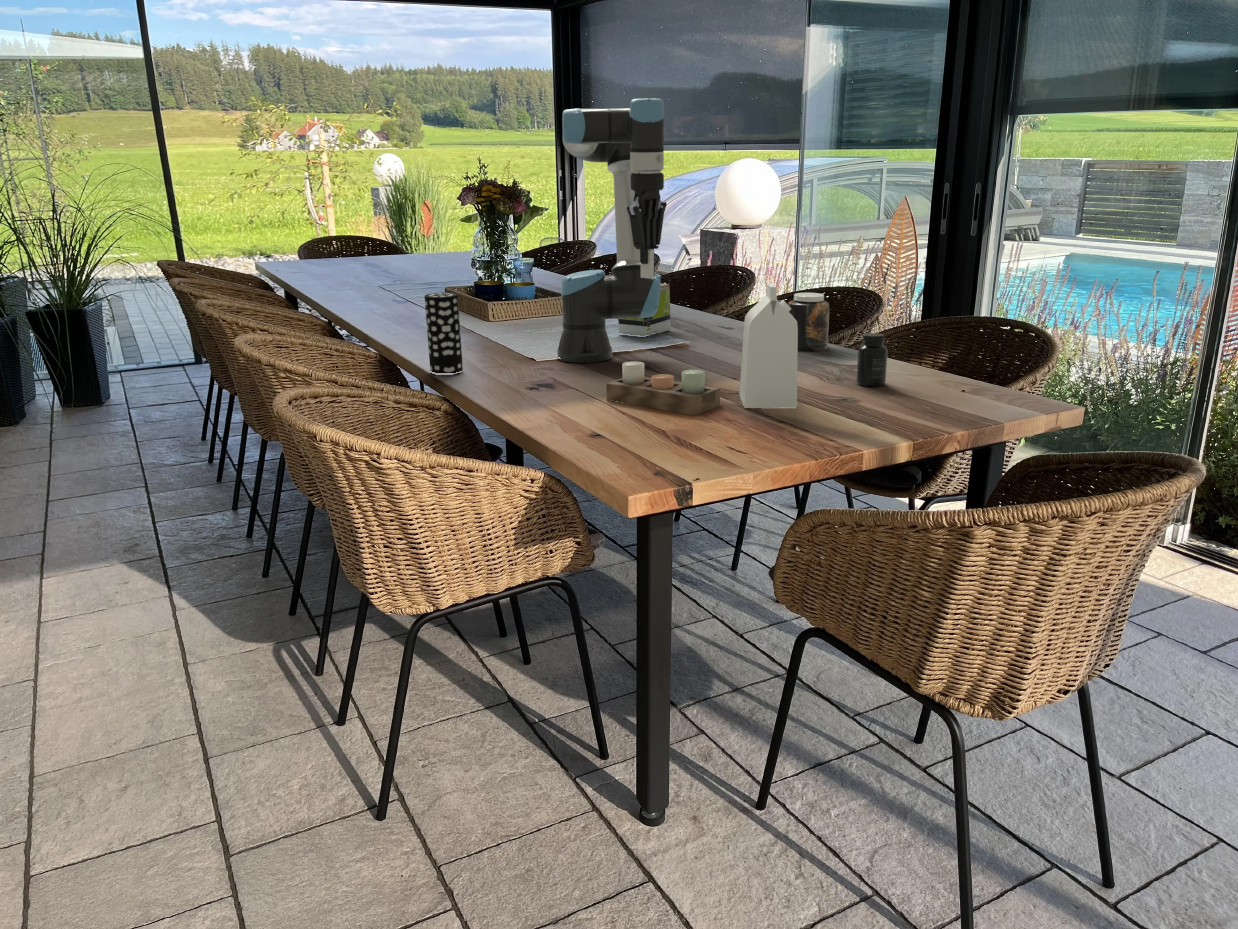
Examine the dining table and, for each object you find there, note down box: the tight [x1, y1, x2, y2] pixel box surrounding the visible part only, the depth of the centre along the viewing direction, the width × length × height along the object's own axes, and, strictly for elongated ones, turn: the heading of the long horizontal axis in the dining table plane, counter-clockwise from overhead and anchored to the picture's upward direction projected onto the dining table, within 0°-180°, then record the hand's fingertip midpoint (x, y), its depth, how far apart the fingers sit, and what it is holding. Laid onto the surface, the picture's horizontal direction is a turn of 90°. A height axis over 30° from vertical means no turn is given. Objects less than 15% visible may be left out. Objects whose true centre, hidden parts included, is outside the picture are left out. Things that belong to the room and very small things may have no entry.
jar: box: [787, 292, 830, 352], centre depth 267 cm, size 12×12×15 cm
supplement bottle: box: [856, 332, 888, 387], centre depth 225 cm, size 7×7×12 cm
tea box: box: [617, 283, 671, 336], centre depth 291 cm, size 15×10×15 cm, turn 144°
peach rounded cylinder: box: [651, 373, 675, 390], centre depth 211 cm, size 5×5×5 cm
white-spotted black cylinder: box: [423, 292, 464, 373], centre depth 242 cm, size 8×8×20 cm
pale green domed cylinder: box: [681, 369, 706, 395], centre depth 206 cm, size 5×5×5 cm
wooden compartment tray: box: [605, 376, 721, 416], centre depth 212 cm, size 24×10×4 cm, turn 54°
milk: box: [738, 282, 799, 409], centre depth 208 cm, size 12×12×26 cm
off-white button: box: [621, 361, 645, 385], centre depth 215 cm, size 5×5×5 cm
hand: (647, 277), depth 220 cm, fingers closed
